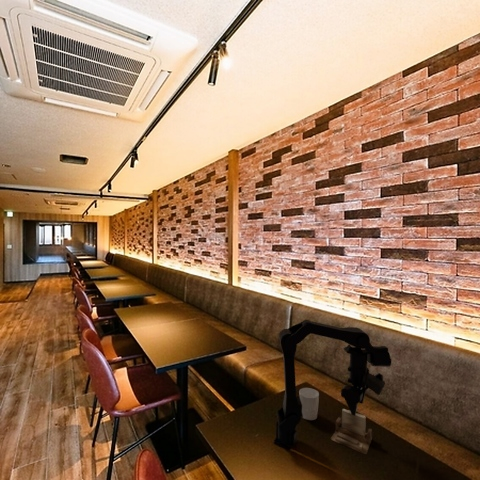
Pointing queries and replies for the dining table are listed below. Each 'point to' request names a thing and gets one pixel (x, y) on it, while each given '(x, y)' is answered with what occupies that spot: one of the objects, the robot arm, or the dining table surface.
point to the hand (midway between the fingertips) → (357, 408)
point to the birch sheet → (353, 422)
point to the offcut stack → (349, 441)
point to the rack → (353, 436)
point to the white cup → (309, 403)
